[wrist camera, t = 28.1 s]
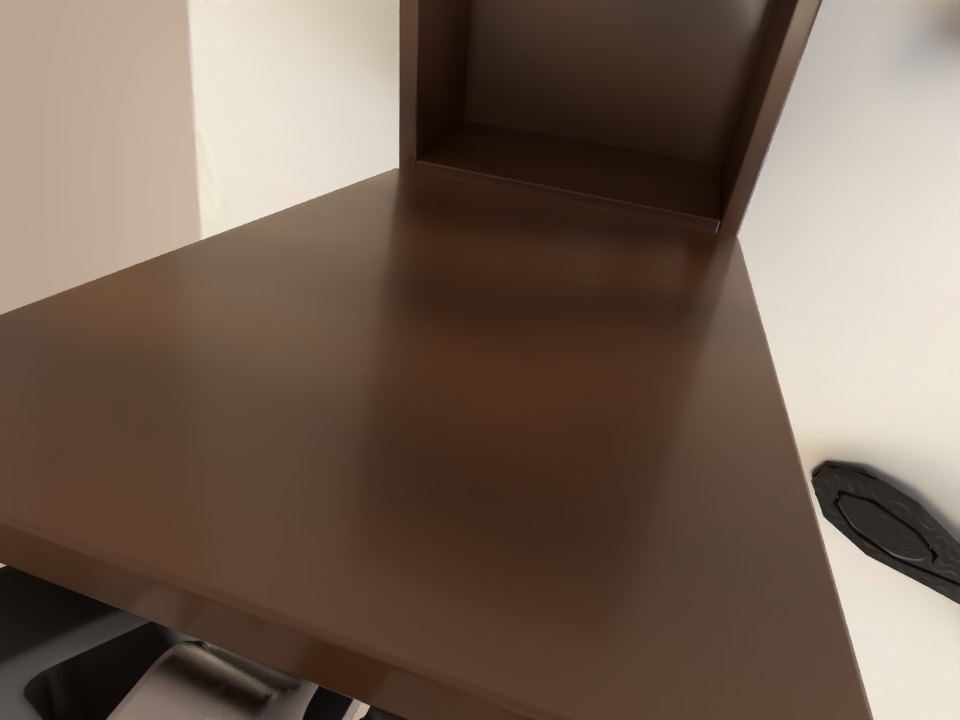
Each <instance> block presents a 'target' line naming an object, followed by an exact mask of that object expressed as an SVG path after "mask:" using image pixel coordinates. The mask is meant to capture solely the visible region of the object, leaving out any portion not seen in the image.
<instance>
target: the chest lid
mask: <svg viewBox="0 0 960 720" xmlns="http://www.w3.org/2000/svg"><path fill="white" fill-rule="evenodd" d="M0 563H3V564H5V565H8V566H10V567H13V568H15V569H18V570H21V571H23V572H26V573H28V574H31V575H34V576H36V577H39V578H41V579H44V580H46V581H49V582H52V583H54V584H57V585H59V586H62V587H65V588H67V589H70V590H72V591H75V592H78V593H80V594H83V595H85V596H88V597H90V598H93V599H96V600H98V601H101V602H103V603H106V604H109V605H111V606H114V607H116V608H119V609H122V610H124V611H127V612H129V613H132V614H135V615H137V616H140V617H142V618H145V619H147V620H150V621H153V622H155V623H158V624H160V625H163V626H166V627H168V628H171V629H173V630H176V631H179V632H181V633H184V634H186V635H189V636H191V637H194V638H197V639H199V640H202V641H204V642H207V643H210V644H212V645H215V646H217V647H220V648H223V649H225V650H228V651H230V652H233V653H236V654H238V655H241V656H243V657H246V658H248V659H251V660H254V661H256V662H259V663H261V664H264V665H267V666H269V667H272V668H274V669H277V670H280V671H282V672H285V673H287V674H290V675H292V676H295V677H298V678H300V679H303V680H305V681H308V682H311V683H313V684H316V685H318V686H321V687H324V688H326V689H329V690H331V691H334V692H336V693H339V694H342V695H344V696H347V697H349V698H352V699H355V700H357V701H360V702H362V703H365V704H368V705H370V706H373V707H375V708H378V709H381V710H383V711H386V712H388V713H391V714H393V715H396V716H399V717H401V718H404V719H406V720H873V716H872V713H871V709H870V706H869V702H868V698H867V695H866V691H865V688H864V684H863V681H862V677H861V673H860V670H859V666H858V663H857V659H856V656H855V652H854V649H853V645H852V641H851V638H850V634H849V631H848V627H847V624H846V620H845V616H844V613H843V609H842V606H841V602H840V599H839V595H838V591H837V588H836V584H835V581H834V577H833V574H832V570H831V567H830V563H829V559H828V556H827V552H826V549H825V545H824V542H823V538H822V534H821V531H820V527H819V524H818V520H817V517H816V513H815V510H814V506H813V502H812V499H811V495H810V492H809V488H808V485H807V481H806V477H805V474H804V470H803V467H802V463H801V460H800V456H799V452H798V449H797V445H796V442H795V438H794V435H793V431H792V428H791V424H790V420H789V417H788V413H787V410H786V406H785V403H784V399H783V395H782V392H781V388H780V385H779V381H778V378H777V374H776V370H775V367H774V363H773V360H772V356H771V353H770V349H769V346H768V342H767V338H766V335H765V331H764V328H763V324H762V321H761V317H760V313H759V310H758V306H757V303H756V299H755V296H754V292H753V289H752V285H751V281H750V278H749V274H748V271H747V267H746V264H745V260H744V256H743V253H742V249H741V246H740V242H739V239H738V238H737V237H734V236H729V235H724V234H719V233H714V232H709V231H704V230H699V229H694V228H689V227H684V226H679V225H674V224H669V223H665V222H660V221H655V220H650V219H645V218H640V217H635V216H630V215H625V214H620V213H615V212H610V211H605V210H600V209H595V208H590V207H585V206H580V205H575V204H570V203H565V202H560V201H555V200H551V199H546V198H541V197H536V196H531V195H526V194H521V193H516V192H511V191H506V190H501V189H496V188H491V187H486V186H481V185H476V184H471V183H466V182H461V181H456V180H451V179H446V178H442V177H437V176H432V175H427V174H422V173H417V172H412V171H407V170H402V169H397V168H395V169H392V170H390V171H387V172H384V173H381V174H379V175H376V176H373V177H371V178H368V179H365V180H363V181H360V182H357V183H355V184H352V185H349V186H346V187H344V188H341V189H338V190H336V191H333V192H330V193H328V194H325V195H322V196H319V197H317V198H314V199H311V200H309V201H306V202H303V203H301V204H298V205H295V206H293V207H290V208H287V209H284V210H282V211H279V212H276V213H274V214H271V215H268V216H266V217H263V218H260V219H257V220H255V221H252V222H249V223H247V224H244V225H241V226H239V227H236V228H233V229H230V230H228V231H225V232H222V233H220V234H217V235H214V236H212V237H209V238H206V239H204V240H201V241H198V242H195V243H193V244H190V245H187V246H185V247H182V248H179V249H177V250H174V251H171V252H168V253H166V254H163V255H160V256H158V257H155V258H153V259H150V260H147V261H144V262H142V263H139V264H136V265H134V266H131V267H128V268H125V269H123V270H120V271H117V272H115V273H112V274H109V275H107V276H104V277H101V278H99V279H96V280H93V281H91V282H88V283H85V284H83V285H80V286H77V287H74V288H71V289H69V290H66V291H63V292H61V293H58V294H56V295H53V296H50V297H47V298H45V299H42V300H39V301H36V302H34V303H31V304H28V305H26V306H23V307H20V308H17V309H15V310H12V311H9V312H7V313H4V314H2V315H0Z"/></svg>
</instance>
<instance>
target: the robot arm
mask: <svg viewBox="0 0 960 720" xmlns="http://www.w3.org/2000/svg"><path fill="white" fill-rule="evenodd" d="M360 704H361V702H360V701H357V700H355V699H352V698H349V697H347V696H344V695H342V694H339V693H336V692H334V691H331V690H329V689H326V688H324V687H321V686H318V685H316V684H313V683H311V682H308V681H305V680H303V679H300V678H298V677H295V676H292V675H290V674H287V673H285V672H282V671H280V670H277V669H274V668H272V667H269V666H267V665H264V664H261V663H259V662H256V661H254V660H251V659H248V658H246V657H243V656H241V655H238V654H236V653H233V652H230V651H228V650H225V649H223V648H220V647H217V646H215V645H212V644H210V643H207V642H204V641H202V640H199V639H197V638H194V637H191V636H189V635H186V634H184V633H181V632H179V631H176V630H173V629H171V628H168V627H166V626H163V625H160V624H158V623H155V622H153V621H150V620H147V619H145V618H142V617H140V616H137V615H135V614H132V613H129V612H127V611H124V610H122V609H119V608H116V607H114V606H111V605H109V604H106V603H103V602H101V601H98V600H96V599H93V598H90V597H88V596H85V595H83V594H80V593H78V592H75V591H72V590H70V589H67V588H65V587H62V586H59V585H57V584H54V583H52V582H49V581H46V580H44V579H41V578H39V577H36V576H34V575H31V574H28V573H26V572H23V571H21V570H18V569H15V568H13V567H10V566H8V565H7V566H4V567H2V568H0V720H352V719H353V717H354V715H355V713H356V712H357V709H358V708H359V706H360ZM360 720H406V719H404V718H401V717H399V716H396V715H393V714H391V713H388V712H386V711H383V710H381V709H378V708H375V707H373V706H370V708H369V710H368V712H367V714H366V715H365V716H364V717H363V718H361V719H360Z"/></svg>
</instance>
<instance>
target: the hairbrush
mask: <svg viewBox="0 0 960 720" xmlns="http://www.w3.org/2000/svg"><path fill="white" fill-rule="evenodd" d="M812 478H813V479H812V480H811V481H812V484H813V487H814V490H815V495H816V497H817V499H818V502H819V504H820V507H821V510H822V513H823V516H824V517H825V518H826V519H827V520H828V521H829V522H830V523H831V524H833V525H834V526H835V527H836V528H837V529H838V530H839V531H840V532H842V533H843V534H844V535H845V536H846V537H847V538H848V539H849V540H850V541H852V542H853V543H854V544H855V545H856V546H857V547H858V548H859V549H860V550H862V551H863V552H864V553H865V554H866V555H868V556H870V557H872V558H874V559H875V560H877V561H879V562H881V563H883V564H885V565H887V566H889V567H891V568H893V569H895V570H897V571H899V572H900V573H902V574H904V575H906V576H908V577H910V578H912V579H914V580H916V581H918V582H920V583H922V584H924V585H925V586H927V587H929V588H931V589H933V590H935V591H936V592H938V593H940V594H942V595H944V596H946V597H947V598H949V599H951V600H953V601H955V602H956V603H958V604H960V544H959V543H958V542H957V541H956V540H955V539H954V538H953V537H952V536H951V535H950V534H949V533H948V532H947V531H946V530H945V529H944V528H943V527H942V526H941V525H940V524H939V523H938V522H937V521H936V520H935V519H934V518H933V517H932V516H931V515H930V514H929V513H928V512H927V511H926V510H925V509H924V508H923V507H922V506H921V505H920V504H919V503H918V502H917V501H915V500H914V499H912V498H910V497H909V496H907V495H906V494H904V493H902V492H901V491H899V490H897V489H896V488H894V487H893V486H891V485H889V484H888V483H886V482H884V481H883V480H881V479H880V478H878V477H876V476H875V475H873V474H871V473H870V472H868V471H867V470H865V469H863V468H859V467H853V466H848V465H842V464H836V463H831V462H825V463H824V464H823V465H822V466H820V467H819V468H818V469H817V470H816V471H815V472H814V473H813V474H812ZM836 495H838V498H836ZM930 546H931V547H932V548H931V549H930Z"/></svg>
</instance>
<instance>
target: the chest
mask: <svg viewBox="0 0 960 720" xmlns="http://www.w3.org/2000/svg"><path fill="white" fill-rule="evenodd" d="M821 2H822V0H400V121H399V169H402V170H407V171H412V172H417V173H422V174H427V175H432V176H437V177H442V178H446V179H451V180H456V181H461V182H466V183H471V184H476V185H481V186H486V187H491V188H496V189H501V190H506V191H511V192H516V193H521V194H526V195H531V196H536V197H541V198H546V199H551V200H555V201H560V202H565V203H570V204H575V205H580V206H585V207H590V208H595V209H600V210H605V211H610V212H615V213H620V214H625V215H630V216H635V217H640V218H645V219H650V220H655V221H660V222H665V223H669V224H674V225H679V226H684V227H689V228H694V229H699V230H704V231H709V232H714V233H719V234H724V235H729V236H734V237H737V236H738V233H739V230H740V228H741V225H742V222H743V219H744V216H745V214H746V211H747V208H748V205H749V203H750V200H751V197H752V194H753V191H754V189H755V186H756V183H757V180H758V177H759V175H760V172H761V169H762V166H763V164H764V161H765V158H766V155H767V152H768V150H769V147H770V144H771V141H772V139H773V136H774V133H775V130H776V127H777V125H778V122H779V119H780V116H781V113H782V111H783V108H784V105H785V102H786V100H787V97H788V94H789V91H790V88H791V86H792V83H793V80H794V77H795V75H796V72H797V69H798V66H799V63H800V61H801V58H802V55H803V52H804V49H805V47H806V44H807V41H808V38H809V36H810V33H811V30H812V27H813V24H814V22H815V19H816V16H817V13H818V11H819V8H820V5H821Z"/></svg>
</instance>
